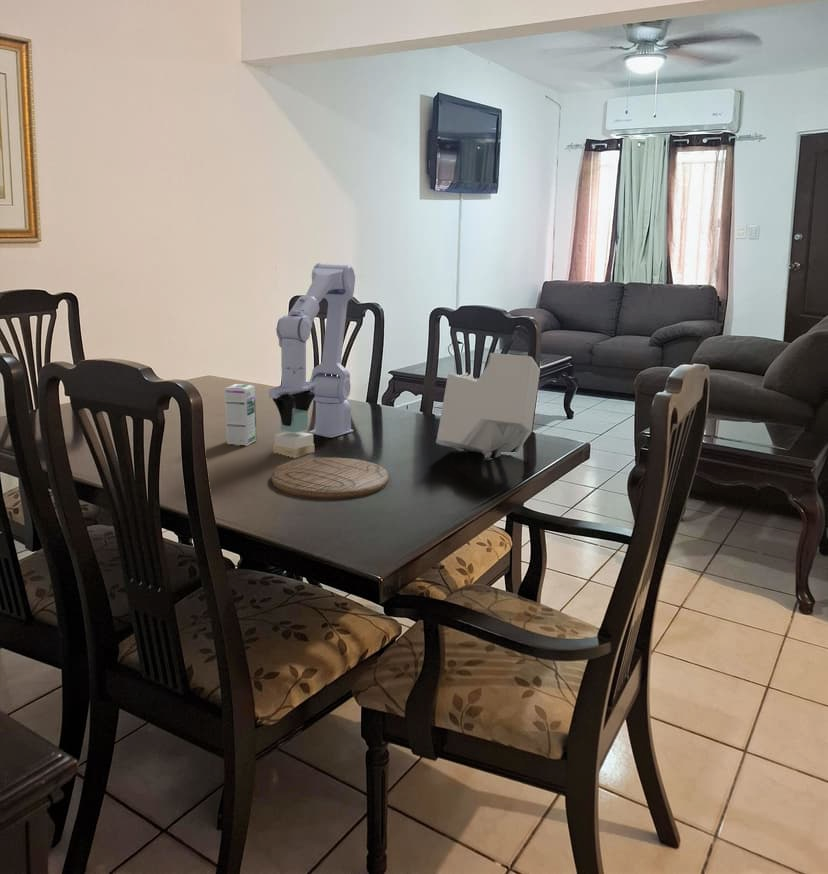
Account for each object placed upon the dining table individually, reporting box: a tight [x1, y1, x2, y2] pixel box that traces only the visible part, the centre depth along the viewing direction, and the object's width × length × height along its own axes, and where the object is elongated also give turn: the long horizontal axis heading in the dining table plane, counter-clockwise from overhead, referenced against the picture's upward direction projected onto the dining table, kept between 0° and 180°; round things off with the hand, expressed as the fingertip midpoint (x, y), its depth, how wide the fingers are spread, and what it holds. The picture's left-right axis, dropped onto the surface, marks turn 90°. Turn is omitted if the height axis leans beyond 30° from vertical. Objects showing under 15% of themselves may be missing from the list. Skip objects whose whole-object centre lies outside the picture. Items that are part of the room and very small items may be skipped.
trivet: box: [271, 457, 389, 500], centre depth 169 cm, size 25×25×2 cm
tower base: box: [272, 443, 316, 459], centre depth 189 cm, size 7×7×2 cm
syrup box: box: [224, 383, 258, 447], centre depth 195 cm, size 6×6×14 cm
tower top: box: [274, 431, 314, 449], centre depth 188 cm, size 6×6×2 cm
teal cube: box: [280, 407, 309, 433], centre depth 187 cm, size 4×4×4 cm
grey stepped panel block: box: [435, 352, 541, 459], centre depth 188 cm, size 20×16×25 cm
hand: (293, 423), depth 187 cm, fingers closed on teal cube, 4 cm apart
